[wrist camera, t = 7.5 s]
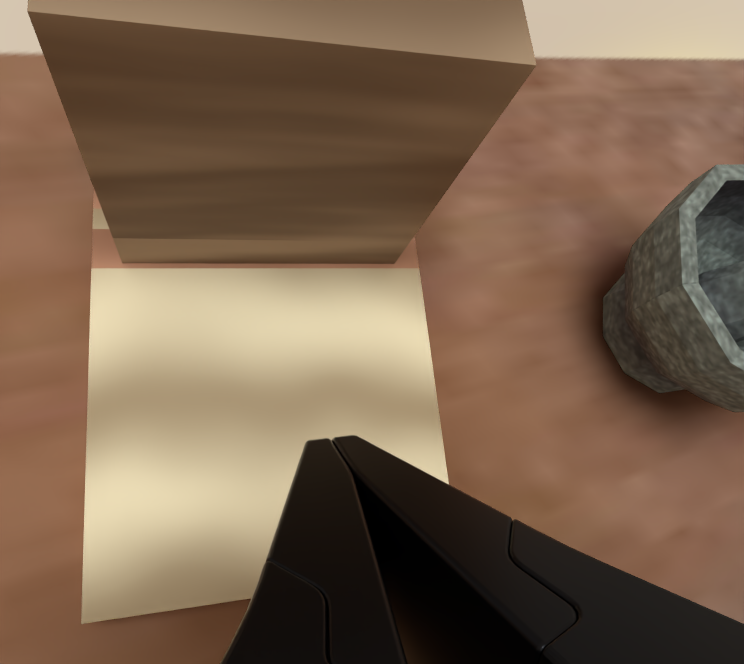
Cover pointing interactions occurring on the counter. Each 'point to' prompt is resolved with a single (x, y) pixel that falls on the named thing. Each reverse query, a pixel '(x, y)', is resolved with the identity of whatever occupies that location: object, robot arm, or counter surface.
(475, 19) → the bookend block
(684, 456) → the counter surface
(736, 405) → the mortar and pestle
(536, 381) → the counter surface
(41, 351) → the counter surface
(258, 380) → the board
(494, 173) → the counter surface
